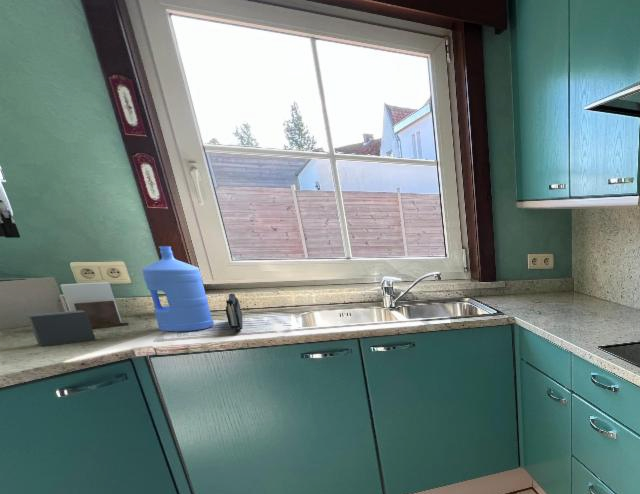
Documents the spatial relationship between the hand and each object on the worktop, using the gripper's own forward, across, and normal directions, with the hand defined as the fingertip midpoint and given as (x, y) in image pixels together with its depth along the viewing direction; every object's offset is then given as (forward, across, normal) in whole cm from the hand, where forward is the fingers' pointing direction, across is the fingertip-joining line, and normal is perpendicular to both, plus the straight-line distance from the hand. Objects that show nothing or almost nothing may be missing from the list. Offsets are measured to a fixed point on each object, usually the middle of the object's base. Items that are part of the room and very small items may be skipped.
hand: (9, 237), depth 151 cm
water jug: (+31, +20, +32) cm, 49 cm away
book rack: (+30, -6, +14) cm, 34 cm away
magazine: (+31, +30, +44) cm, 61 cm away
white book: (+29, -4, +14) cm, 33 cm away
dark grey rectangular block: (+30, +20, +1) cm, 36 cm away
